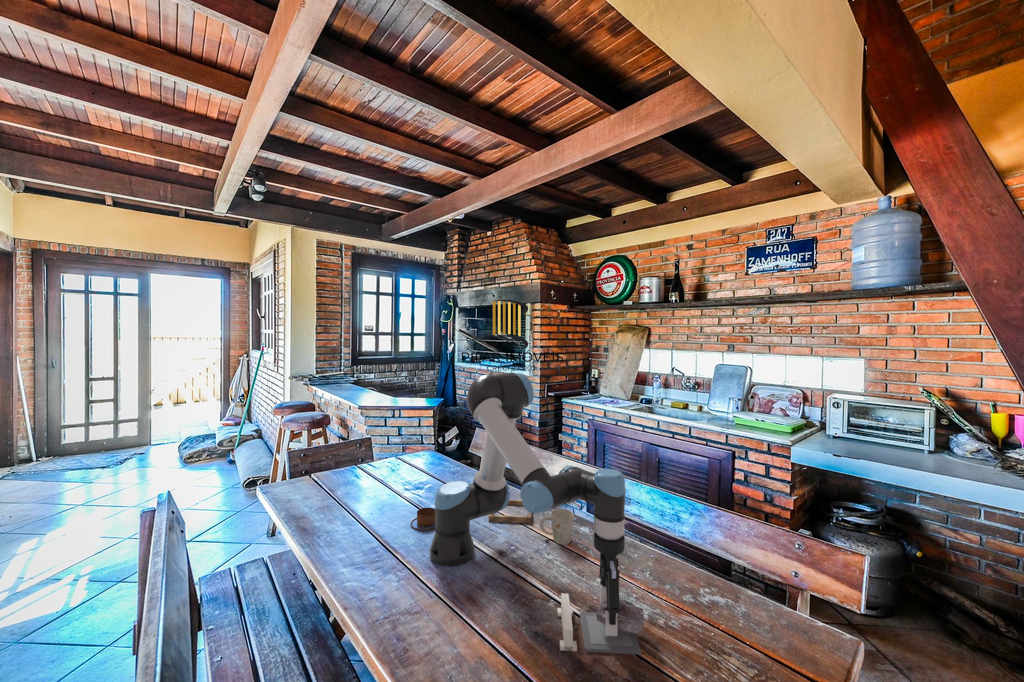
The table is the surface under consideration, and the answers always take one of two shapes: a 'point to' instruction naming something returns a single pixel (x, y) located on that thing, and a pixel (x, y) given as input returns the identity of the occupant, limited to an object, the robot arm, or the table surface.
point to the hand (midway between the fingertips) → (608, 622)
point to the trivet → (606, 637)
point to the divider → (566, 624)
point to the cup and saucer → (425, 518)
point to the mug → (560, 525)
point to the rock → (624, 616)
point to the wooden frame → (511, 518)
